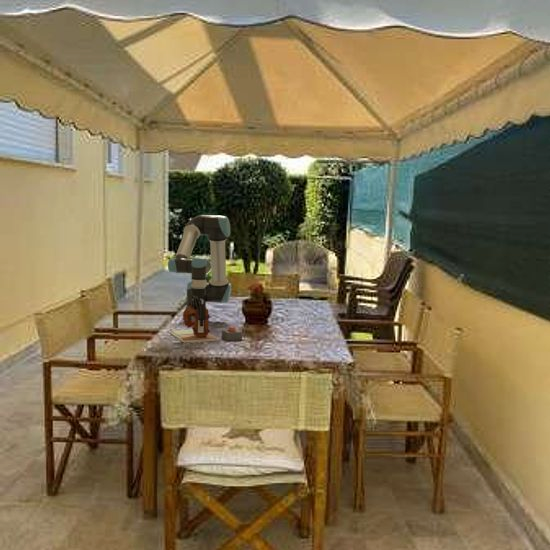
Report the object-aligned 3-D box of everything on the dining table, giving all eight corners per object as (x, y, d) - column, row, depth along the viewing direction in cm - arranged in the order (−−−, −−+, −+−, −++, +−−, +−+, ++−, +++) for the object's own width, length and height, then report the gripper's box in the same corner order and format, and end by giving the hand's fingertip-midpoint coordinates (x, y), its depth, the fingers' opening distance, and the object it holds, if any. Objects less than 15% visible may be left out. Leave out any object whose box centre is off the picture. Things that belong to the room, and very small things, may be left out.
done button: (227, 333, 332) (227, 326, 332) (233, 332, 334) (233, 326, 334) (229, 334, 329) (230, 327, 329) (236, 334, 331) (236, 327, 330)
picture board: (169, 332, 340) (169, 330, 340) (201, 330, 348) (201, 328, 348) (183, 342, 317) (183, 340, 317) (218, 340, 325) (218, 338, 325)
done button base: (221, 337, 334) (221, 329, 333) (235, 336, 337) (236, 329, 337) (227, 340, 327) (227, 332, 326) (241, 339, 330) (241, 331, 330)
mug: (212, 335, 330) (213, 307, 328) (206, 338, 322) (207, 309, 321) (186, 332, 334) (187, 304, 332) (180, 335, 326) (180, 307, 324)
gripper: (184, 284, 333) (183, 326, 335) (198, 290, 312) (197, 335, 315) (198, 284, 336) (197, 326, 338) (213, 290, 316) (211, 334, 318)
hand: (197, 330), depth 327 cm, fingers closed on mug, 10 cm apart
